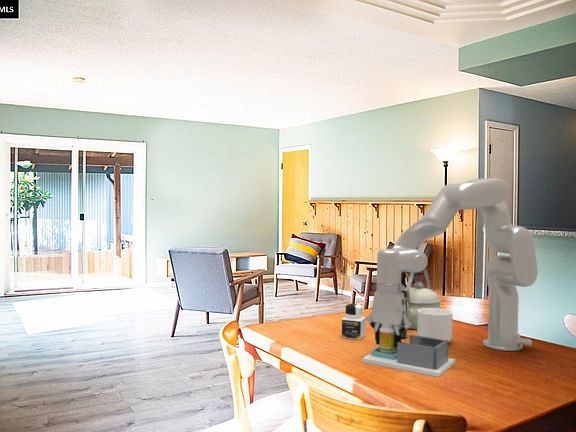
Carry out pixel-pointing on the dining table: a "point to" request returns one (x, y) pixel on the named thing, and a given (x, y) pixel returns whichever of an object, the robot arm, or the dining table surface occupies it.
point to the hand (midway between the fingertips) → (387, 344)
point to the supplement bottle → (387, 338)
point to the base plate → (391, 361)
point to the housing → (423, 352)
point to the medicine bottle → (353, 322)
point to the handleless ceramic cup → (435, 323)
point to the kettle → (420, 299)
